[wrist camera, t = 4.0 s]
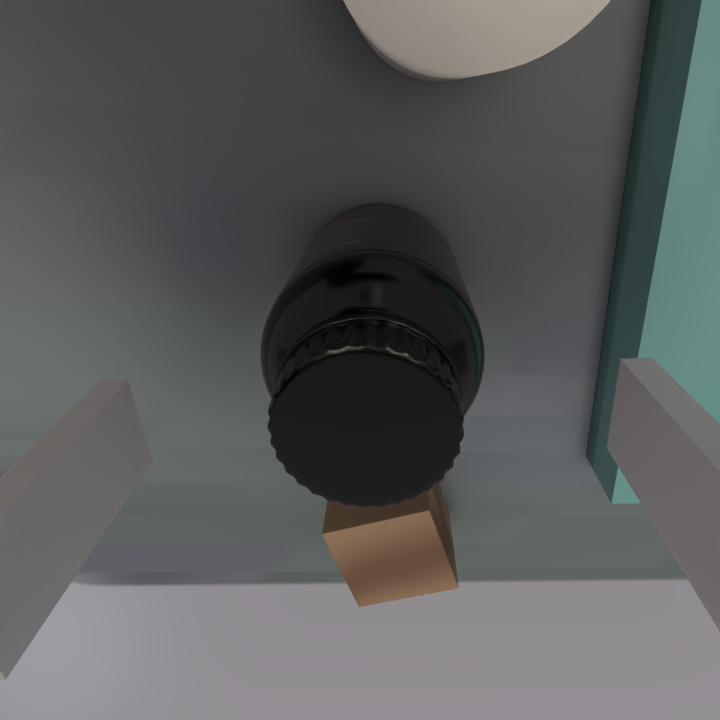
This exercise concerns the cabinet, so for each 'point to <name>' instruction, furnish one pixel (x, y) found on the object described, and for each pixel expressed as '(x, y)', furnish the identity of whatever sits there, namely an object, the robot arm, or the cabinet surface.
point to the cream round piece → (467, 33)
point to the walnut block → (393, 548)
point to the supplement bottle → (372, 360)
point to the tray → (667, 226)
